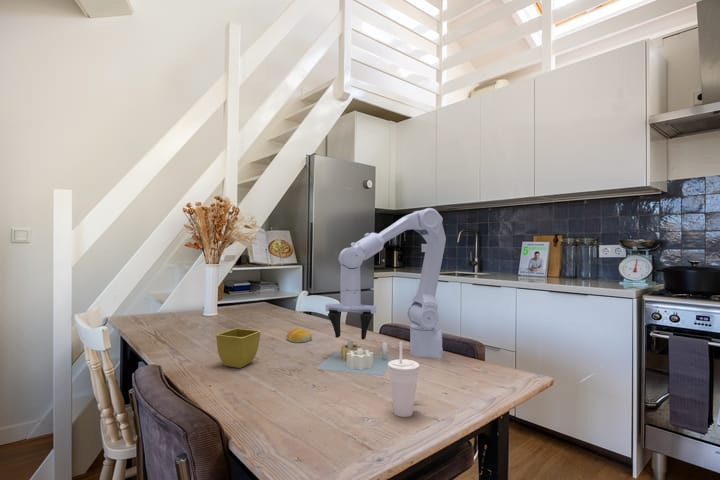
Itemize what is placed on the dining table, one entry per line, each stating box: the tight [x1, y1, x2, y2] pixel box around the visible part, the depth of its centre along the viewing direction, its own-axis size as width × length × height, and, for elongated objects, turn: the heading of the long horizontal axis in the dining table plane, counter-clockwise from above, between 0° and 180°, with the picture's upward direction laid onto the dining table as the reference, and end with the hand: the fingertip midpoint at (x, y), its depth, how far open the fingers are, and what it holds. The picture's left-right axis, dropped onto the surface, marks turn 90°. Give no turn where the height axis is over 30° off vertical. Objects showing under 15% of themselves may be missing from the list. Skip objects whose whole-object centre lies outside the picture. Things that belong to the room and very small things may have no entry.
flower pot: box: [215, 327, 261, 369], centre depth 104 cm, size 9×9×9 cm
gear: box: [347, 349, 374, 370], centre depth 99 cm, size 7×7×3 cm
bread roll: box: [285, 327, 313, 344], centre depth 132 cm, size 8×9×4 cm
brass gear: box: [340, 343, 362, 361], centre depth 106 cm, size 6×6×3 cm
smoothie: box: [387, 341, 421, 418], centre depth 74 cm, size 6×6×14 cm
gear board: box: [315, 341, 396, 377], centre depth 102 cm, size 18×16×6 cm
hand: (350, 337), depth 106 cm, fingers open, 7 cm apart
